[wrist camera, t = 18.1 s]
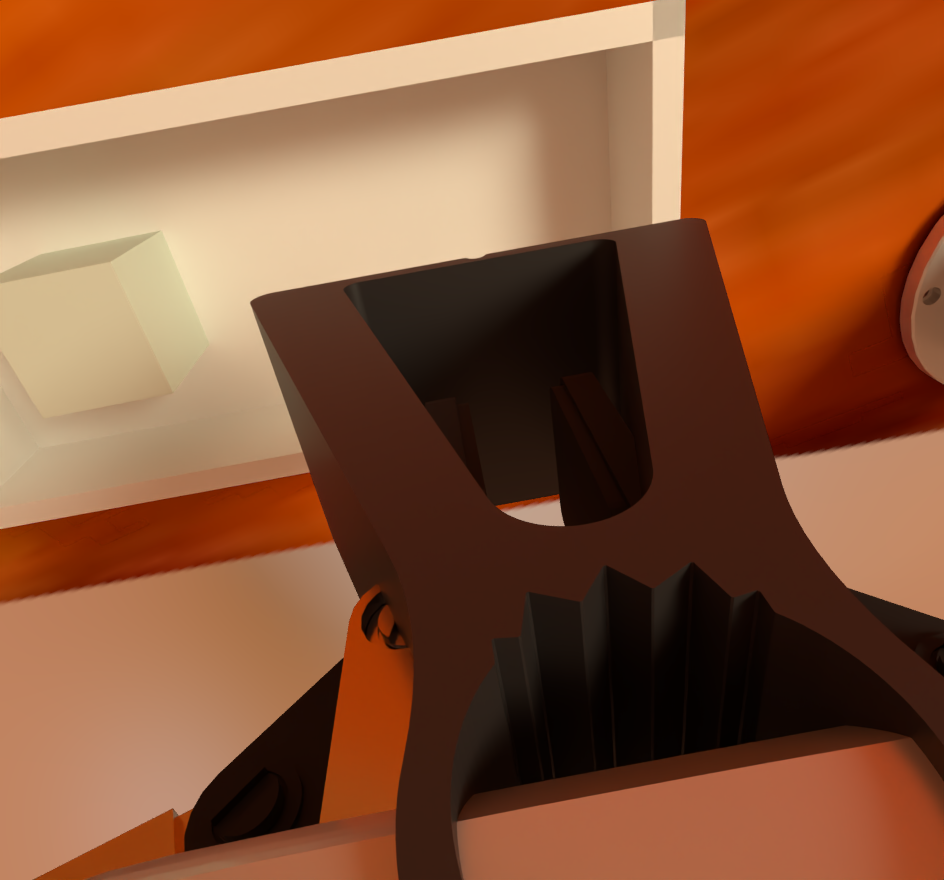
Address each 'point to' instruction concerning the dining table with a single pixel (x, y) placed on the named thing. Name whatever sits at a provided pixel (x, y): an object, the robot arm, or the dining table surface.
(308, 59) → the dining table surface
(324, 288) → the phone stand
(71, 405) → the beige cube
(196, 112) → the tote
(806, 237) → the dining table surface
